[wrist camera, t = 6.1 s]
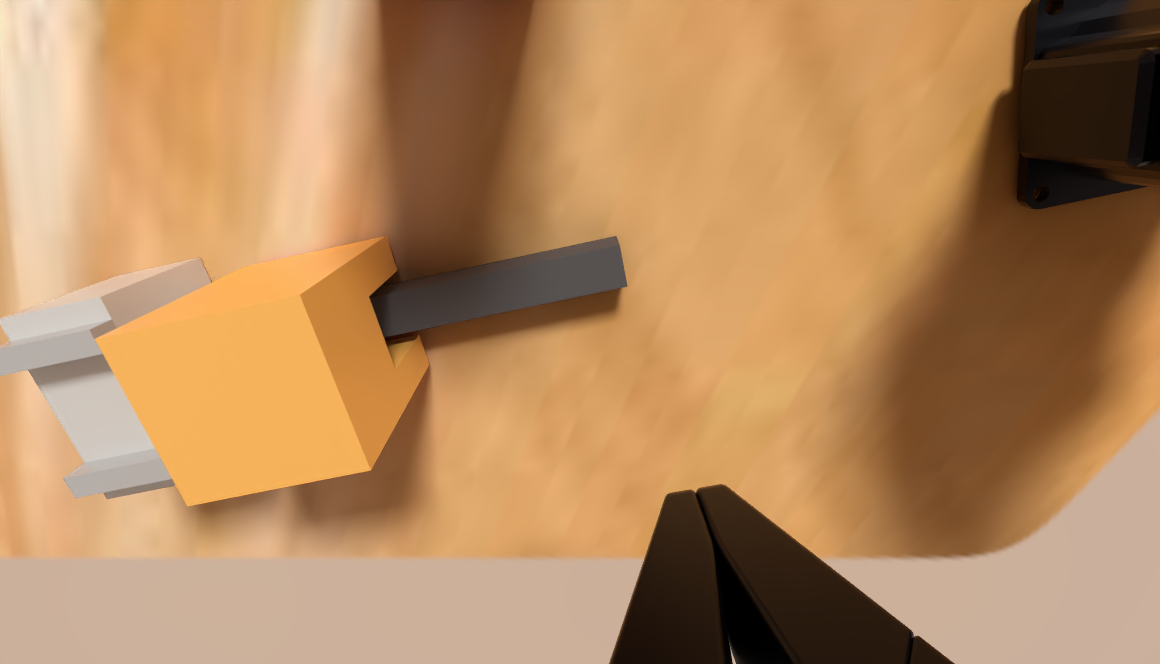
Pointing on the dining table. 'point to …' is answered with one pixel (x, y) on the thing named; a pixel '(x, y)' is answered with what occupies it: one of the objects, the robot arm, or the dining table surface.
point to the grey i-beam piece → (96, 373)
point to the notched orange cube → (270, 374)
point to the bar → (499, 287)
